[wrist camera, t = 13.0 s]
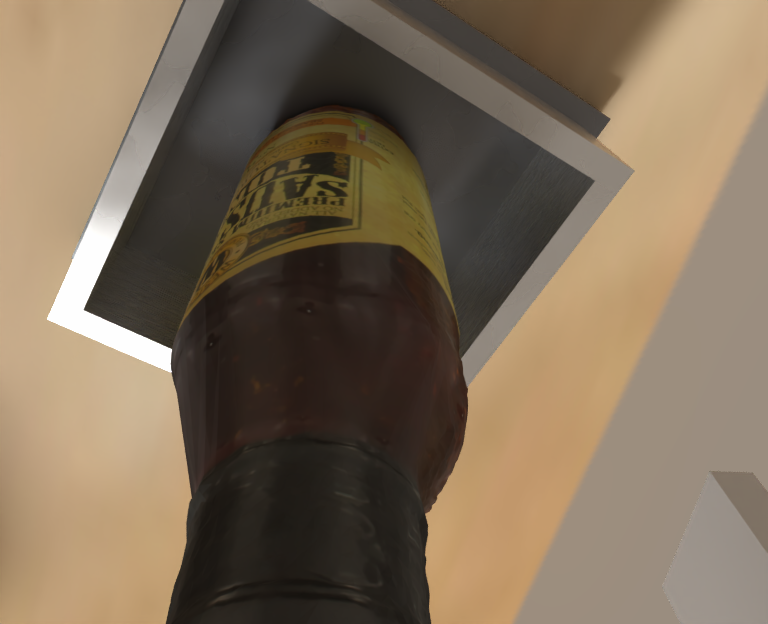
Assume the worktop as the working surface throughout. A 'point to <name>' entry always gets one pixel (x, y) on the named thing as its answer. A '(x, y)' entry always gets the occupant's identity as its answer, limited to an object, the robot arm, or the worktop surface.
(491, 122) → the open gray square box
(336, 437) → the sauce bottle
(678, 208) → the worktop surface
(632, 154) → the worktop surface
